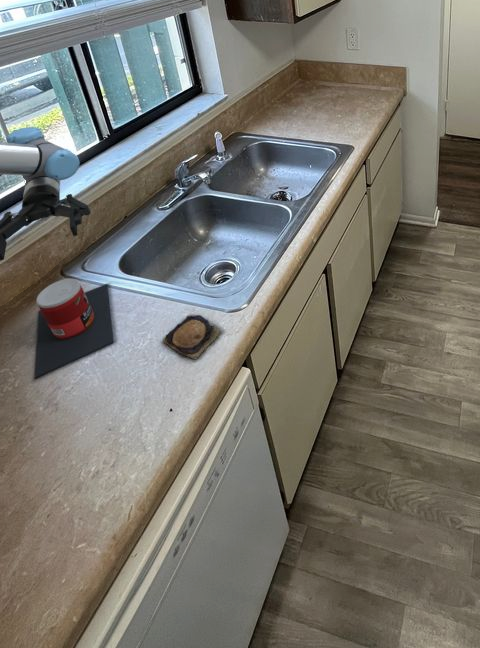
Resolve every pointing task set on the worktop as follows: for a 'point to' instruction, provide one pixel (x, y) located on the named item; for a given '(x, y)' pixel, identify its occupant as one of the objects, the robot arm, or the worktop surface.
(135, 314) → the worktop surface
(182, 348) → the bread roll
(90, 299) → the mat
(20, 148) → the robot arm
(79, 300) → the canned food
